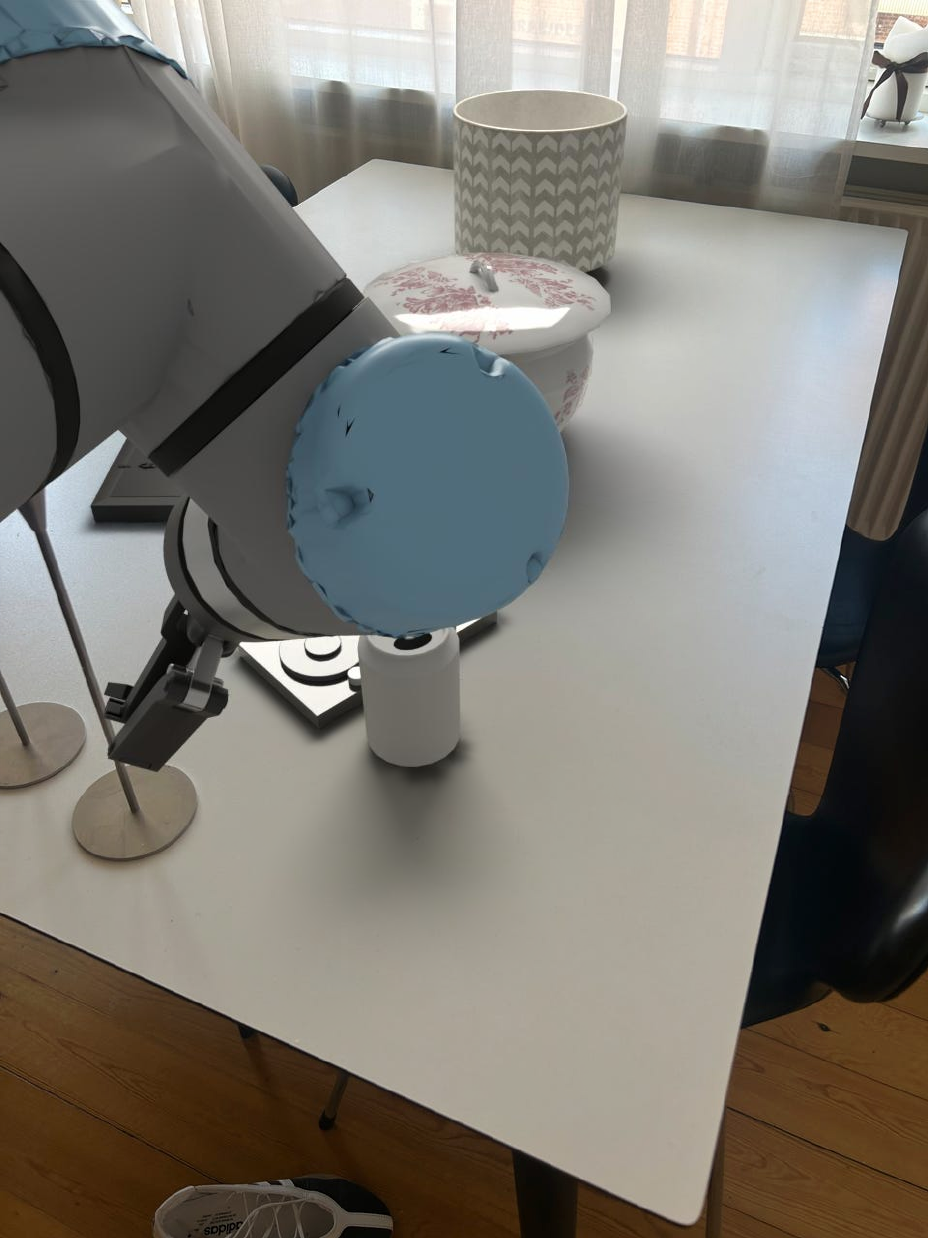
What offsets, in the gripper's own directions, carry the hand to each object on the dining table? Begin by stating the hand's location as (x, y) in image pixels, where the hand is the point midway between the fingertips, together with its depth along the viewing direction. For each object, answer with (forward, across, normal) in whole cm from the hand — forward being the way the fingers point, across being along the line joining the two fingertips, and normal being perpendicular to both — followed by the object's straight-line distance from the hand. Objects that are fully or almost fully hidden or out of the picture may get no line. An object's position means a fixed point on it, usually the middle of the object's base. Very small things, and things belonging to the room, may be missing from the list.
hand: (170, 583), depth 56 cm
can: (+14, -3, -24) cm, 28 cm away
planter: (+71, +76, -48) cm, 115 cm away
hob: (+23, +5, -22) cm, 32 cm away
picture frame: (+50, +19, -8) cm, 54 cm away
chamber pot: (+42, +35, -35) cm, 65 cm away
